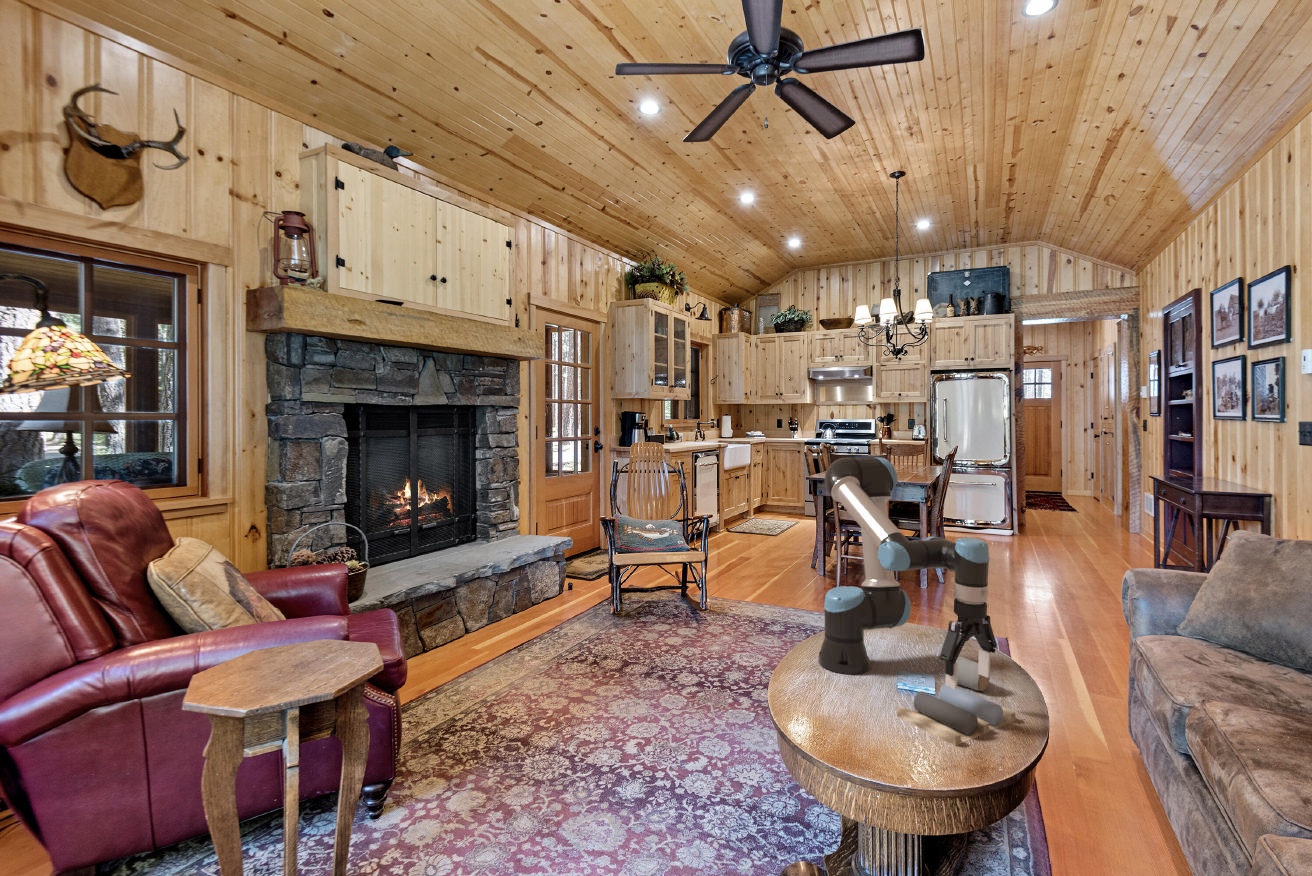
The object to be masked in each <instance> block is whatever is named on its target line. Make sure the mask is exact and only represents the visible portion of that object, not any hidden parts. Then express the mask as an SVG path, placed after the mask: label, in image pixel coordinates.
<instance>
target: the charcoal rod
mask: <svg viewBox="0 0 1312 876" xmlns="http://www.w3.org/2000/svg"><path fill="white" fill-rule="evenodd" d="M913 708H914V710H915V709H916V710H917V711H919V712H921V713H923V714H925V715H927V716H929V717H931V718H933V719H936V720H938V721H940V722H942V723H944V724H946V725H948V726H950V727H952V728H954V729H956V730H958V731H960V732H962V733H965V734H967V735H969V736H971V735H973V734H974V733H975V731H976V729H977V726H978V719H977V716H976V715H974V714H972V713H970V712H968V711H965V710H963V709H961V708H959V707H956V706H954V705H952V704H950V703H947V702H945V701H943V700H941V699H940V698H938V697H936V696H934V695H932V694H929V693H927V692H925V691H922V690H921V691H919V692H917V693H916V694H915V697H914V699H913Z"/></svg>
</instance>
